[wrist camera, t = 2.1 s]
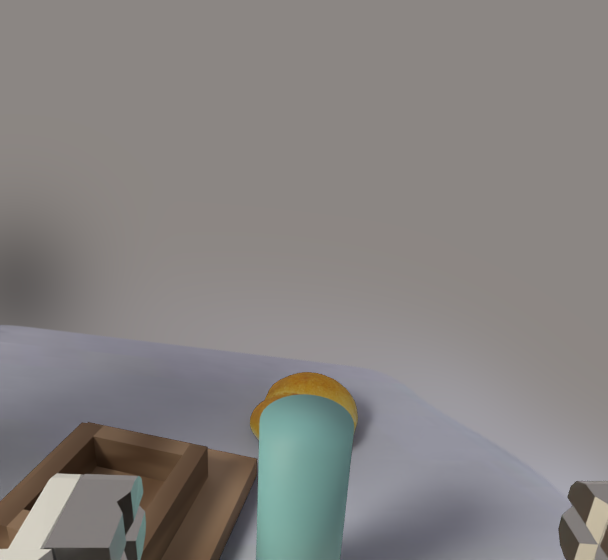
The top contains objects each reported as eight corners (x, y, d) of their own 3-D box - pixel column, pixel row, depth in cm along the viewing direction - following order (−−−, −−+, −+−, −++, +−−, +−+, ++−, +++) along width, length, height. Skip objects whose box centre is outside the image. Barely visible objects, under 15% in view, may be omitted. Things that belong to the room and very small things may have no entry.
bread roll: (235, 449, 40) (235, 406, 38) (281, 390, 47) (282, 352, 46) (336, 481, 37) (340, 436, 36) (367, 413, 45) (371, 373, 43)
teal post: (243, 629, 27) (246, 442, 22) (268, 558, 31) (274, 388, 26) (326, 652, 26) (346, 462, 21) (340, 576, 30) (360, 403, 25)
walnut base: (-81, 606, 27) (-100, 550, 25) (84, 438, 40) (78, 394, 38) (164, 681, 24) (159, 624, 23) (256, 475, 37) (257, 430, 35)
